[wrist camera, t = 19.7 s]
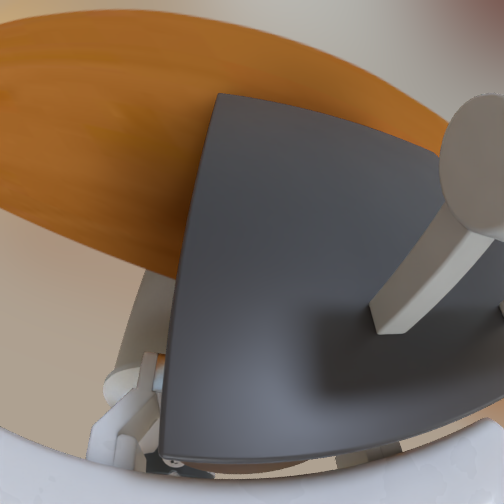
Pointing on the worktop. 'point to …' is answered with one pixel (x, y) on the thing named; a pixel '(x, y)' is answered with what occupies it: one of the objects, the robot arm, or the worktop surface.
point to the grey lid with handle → (334, 285)
